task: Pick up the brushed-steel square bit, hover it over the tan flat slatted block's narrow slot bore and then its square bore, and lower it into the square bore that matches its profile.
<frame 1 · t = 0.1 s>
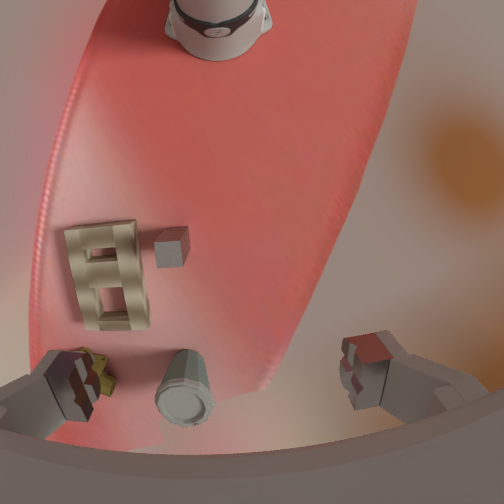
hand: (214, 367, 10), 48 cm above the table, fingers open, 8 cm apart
tan flat slatted block: (111, 274, 58), on the table
disposable coffee cup: (190, 360, 65), on the table
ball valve: (92, 362, 64), on the table
square bit: (178, 238, 57), on the table
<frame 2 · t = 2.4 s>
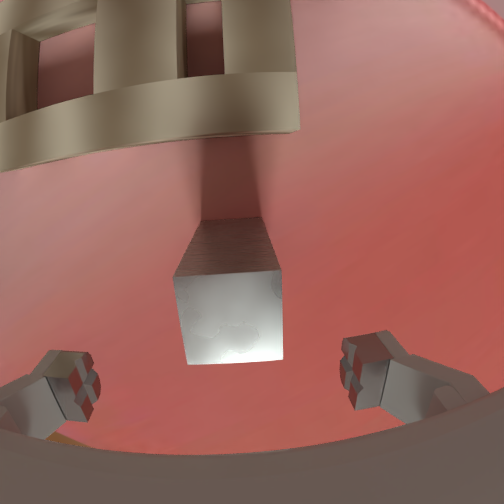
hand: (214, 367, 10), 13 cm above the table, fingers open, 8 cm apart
tan flat slatted block: (132, 54, 18), on the table
square bit: (233, 248, 22), on the table
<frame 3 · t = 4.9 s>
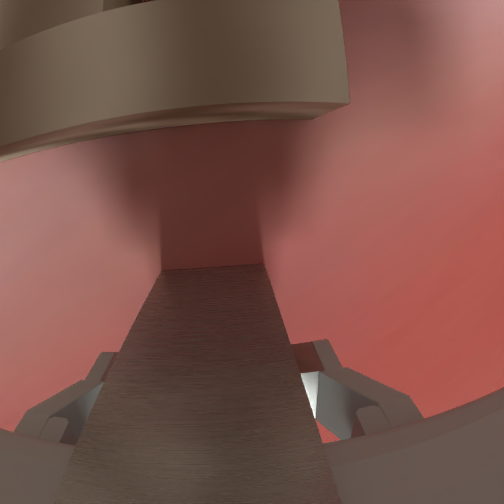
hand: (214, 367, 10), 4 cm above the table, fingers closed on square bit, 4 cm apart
tan flat slatted block: (60, 5, 9), on the table
square bit: (216, 314, 13), on the table, touching gripper
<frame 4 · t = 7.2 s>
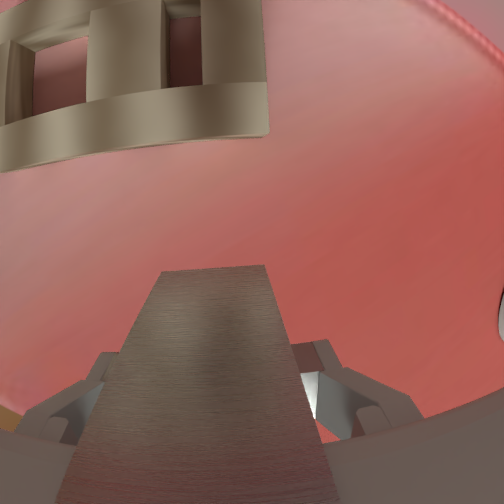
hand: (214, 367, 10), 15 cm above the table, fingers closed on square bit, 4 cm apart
tan flat slatted block: (120, 65, 19), on the table
square bit: (217, 314, 13), point 11 cm above the table, touching gripper
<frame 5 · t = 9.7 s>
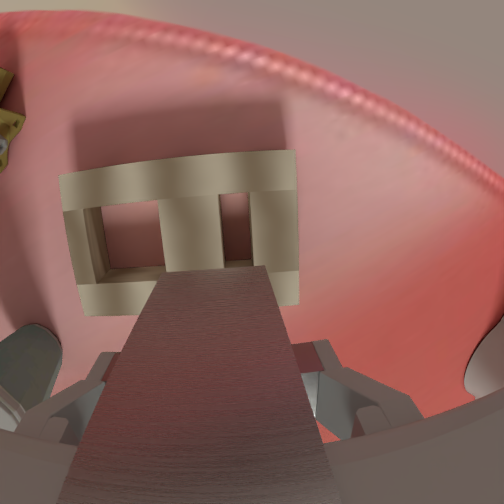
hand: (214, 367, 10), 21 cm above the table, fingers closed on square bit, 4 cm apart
tan flat slatted block: (182, 229, 30), on the table
disposable coffee cup: (44, 346, 33), on the table
square bit: (217, 315, 13), point 18 cm above the table, touching gripper
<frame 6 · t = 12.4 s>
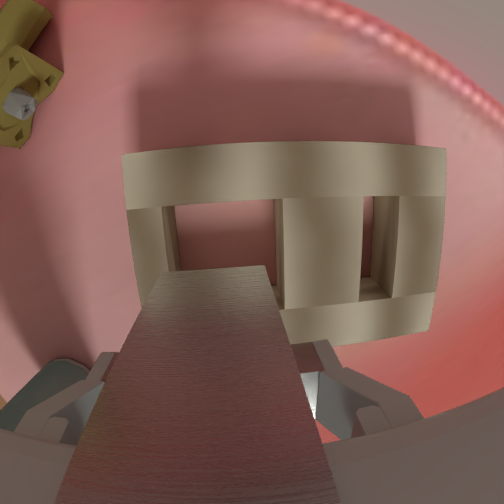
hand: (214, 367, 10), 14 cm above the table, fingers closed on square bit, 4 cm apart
tan flat slatted block: (290, 238, 23), on the table
disposable coffee cup: (78, 384, 26), on the table
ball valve: (20, 86, 18), on the table
square bit: (217, 315, 13), point 10 cm above the table, touching gripper
when the fingers open (6 cm above the table, at t = 14.9 s): square bit drops 2 cm, resting in tan flat slatted block.
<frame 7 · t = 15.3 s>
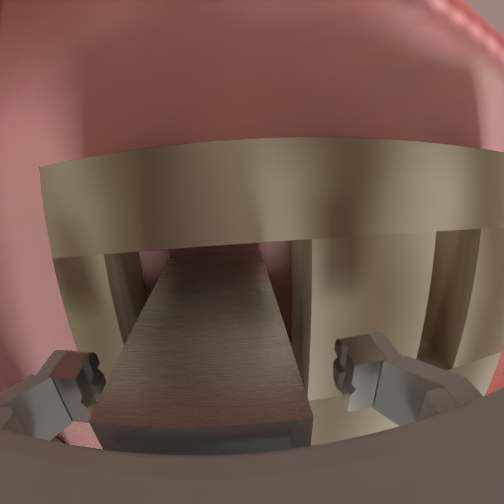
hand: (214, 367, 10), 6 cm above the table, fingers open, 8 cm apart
tan flat slatted block: (313, 286, 15), on the table
square bit: (218, 295, 15), resting in tan flat slatted block
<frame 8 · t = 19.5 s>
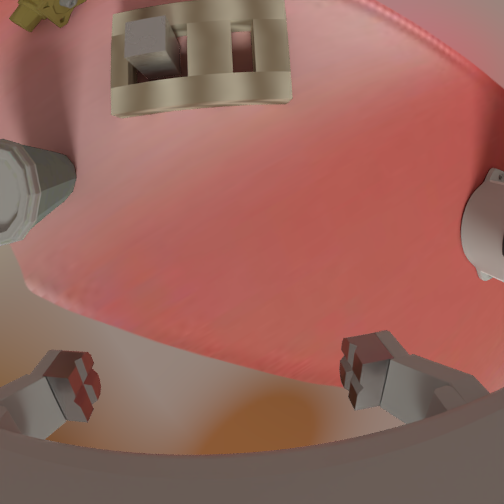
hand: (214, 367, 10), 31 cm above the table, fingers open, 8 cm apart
tan flat slatted block: (200, 57, 34), on the table
disposable coffee cup: (58, 179, 37), on the table
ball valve: (65, 0, 29), on the table
square bit: (164, 62, 34), resting in tan flat slatted block
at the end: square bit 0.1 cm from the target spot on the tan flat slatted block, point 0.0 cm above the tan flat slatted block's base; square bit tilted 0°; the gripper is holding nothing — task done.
